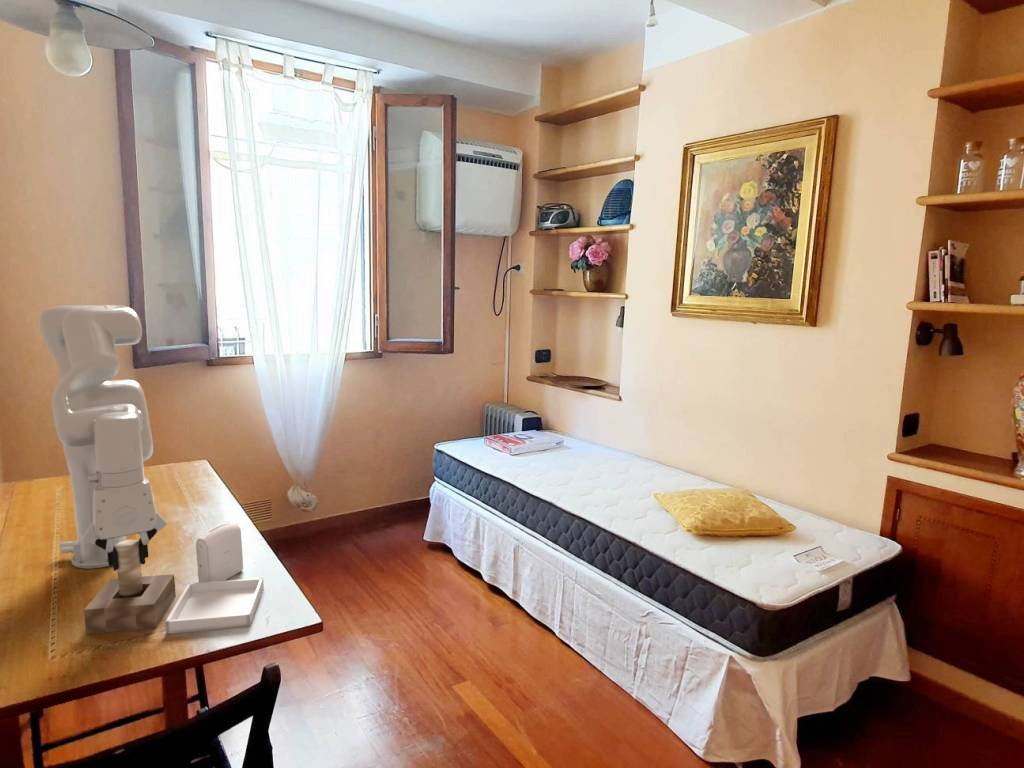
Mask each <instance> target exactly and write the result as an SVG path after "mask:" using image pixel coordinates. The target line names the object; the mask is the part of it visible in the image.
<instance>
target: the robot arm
mask: <svg viewBox="0 0 1024 768" xmlns="http://www.w3.org/2000/svg"><path fill="white" fill-rule="evenodd" d="M38 319H39V329H40V333H41V336H42V338H43V341H44V344H45V345H46V348H47V349H48V351H49V352H50V354H51V356H52V357H53V359H54V361H55V362H56V364H57V367H58V368H57V369H58V371H59V377H60V380H59V381H58V383H57V384H56V385H55V389H54V391H53V393H52V398H51V409H52V416H53V421H54V426H55V430H56V431H55V432H56V434H57V437H58V439H59V441H60V443H61V444H62V448H63V449H62V450H63V455H64V459H65V461H66V465H67V467H68V468H67V469H68V472H69V476H70V482H71V489H72V490H71V491H72V497H73V498H72V499H73V508H74V516H75V517H74V518H75V525H76V527H75V528H76V536H77V540H75V541H61V542H60V544H59V550H60V554H69V553H72V554H73V556H71V565H72V566H74V567H75V568H78V569H84V570H85V569H91V570H92V569H99V568H105V567H110V566H112V568H113V569H112V570H113V571H117V569H118V561H117V551H116V549H115V545H116V544H118V543H120V542H122V541H126V540H127V536H132V535H133V536H134V535H136V534H138V535H139V540H138V541H139V549H140V562H141V565H146V558H149V547H148V546H149V545H148V544H150V541H151V540H152V539H153V538H154V537H155V535H156V534H157V533H158V532H160V531H161V530H162V529H163V528H165V527H166V526H167V525H168V524H167V521H166V520H165V518H163V517H162V515H160V514H159V513H158V512H157V510H156V506H155V505H156V504H155V498H154V493H153V488H152V485H151V482H150V479H148V477H145V469H144V462H145V461H147V460H149V459H150V458H151V457H152V455H153V453H154V442H153V435H152V434H153V433H152V428H151V424H150V422H151V421H150V417H149V411H148V406H147V405H148V404H147V399H146V396H145V391H144V389H143V387H142V385H141V384H140V383H139V382H138V381H136V380H133V379H114V380H111V379H112V378H114V377H115V376H117V375H118V373H119V371H120V368H121V363H120V360H119V359H120V358H119V356H118V353H117V349H116V346H130V345H131V346H132V345H133V346H134V345H137V344H139V342H140V341H141V339H142V337H143V328H142V327H143V326H142V322H141V319H140V317H139V315H138V314H137V312H136V311H135V310H134V309H133V308H131V307H128V306H125V305H123V304H100V305H99V304H98V305H97V304H96V305H95V304H91V305H89V304H88V305H87V304H83V305H82V304H76V305H75V304H74V305H73V304H72V305H57V306H51V307H49V308H46V309H44V310H43V311H42V312H41V313H40V315H39V318H38Z"/></svg>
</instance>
